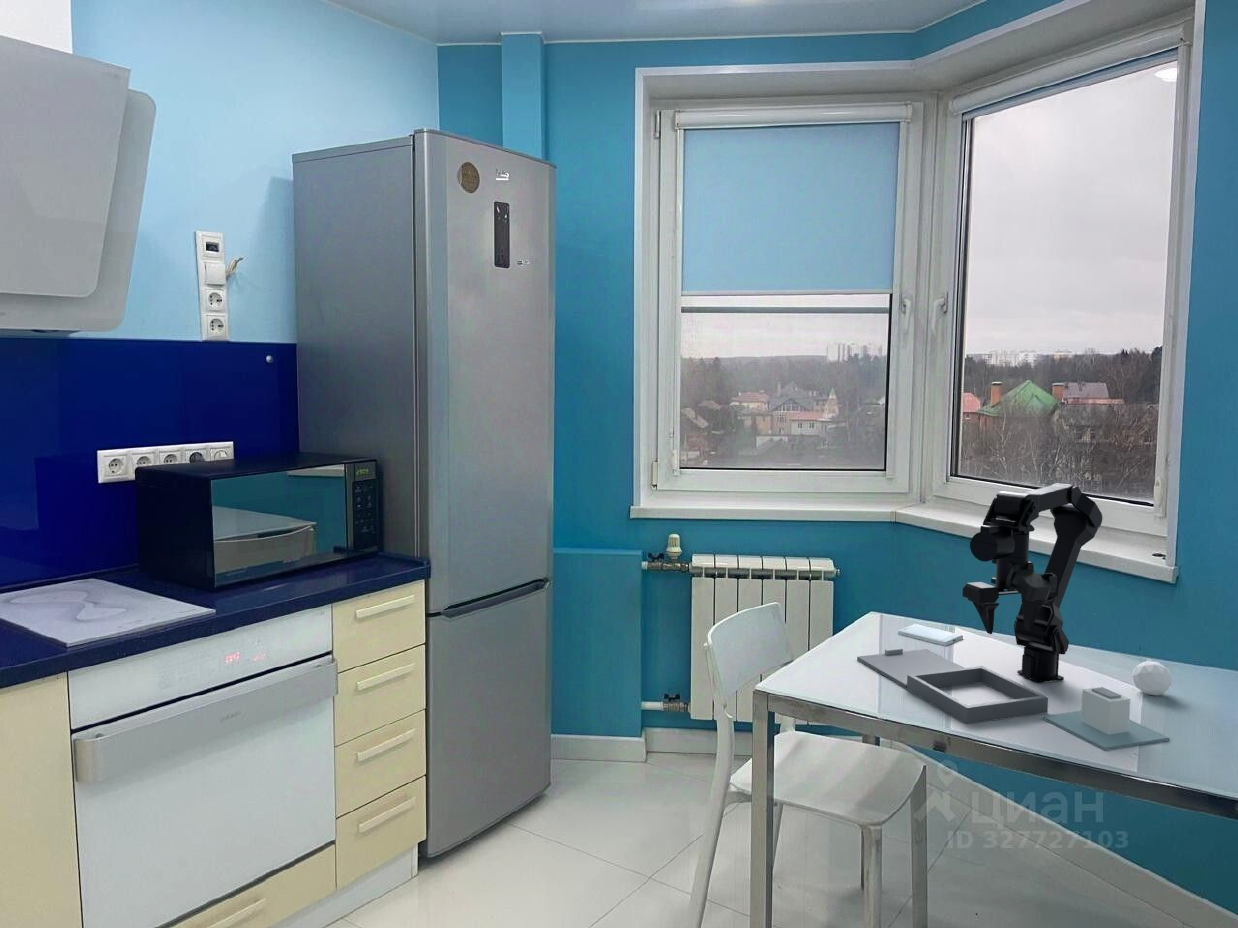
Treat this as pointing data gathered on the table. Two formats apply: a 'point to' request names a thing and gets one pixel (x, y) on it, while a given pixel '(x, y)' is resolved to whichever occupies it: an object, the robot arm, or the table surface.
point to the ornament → (1152, 678)
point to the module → (1105, 710)
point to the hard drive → (930, 634)
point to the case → (933, 670)
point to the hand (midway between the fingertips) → (1008, 631)
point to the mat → (1102, 740)
